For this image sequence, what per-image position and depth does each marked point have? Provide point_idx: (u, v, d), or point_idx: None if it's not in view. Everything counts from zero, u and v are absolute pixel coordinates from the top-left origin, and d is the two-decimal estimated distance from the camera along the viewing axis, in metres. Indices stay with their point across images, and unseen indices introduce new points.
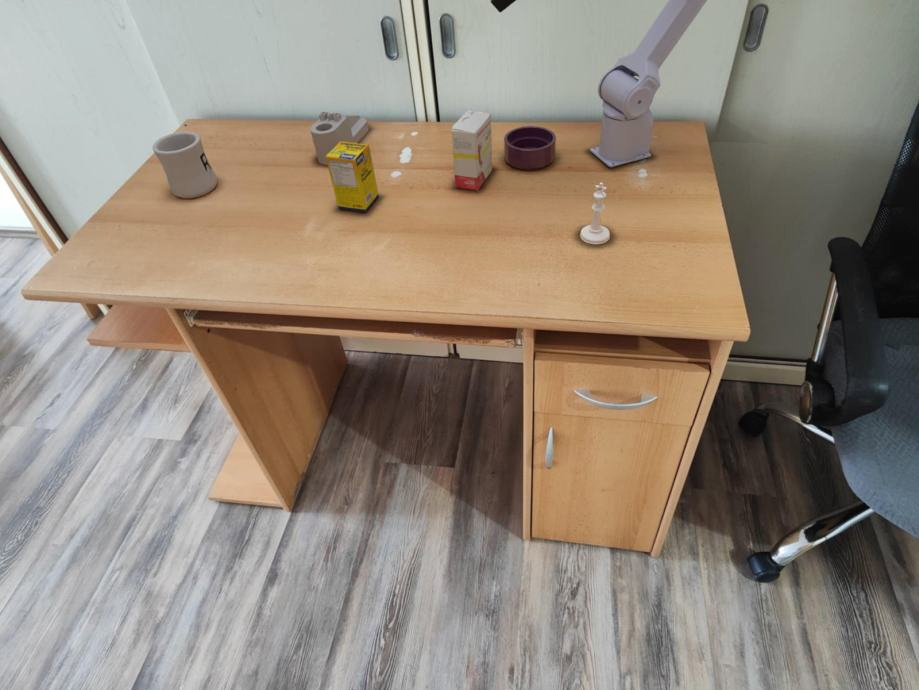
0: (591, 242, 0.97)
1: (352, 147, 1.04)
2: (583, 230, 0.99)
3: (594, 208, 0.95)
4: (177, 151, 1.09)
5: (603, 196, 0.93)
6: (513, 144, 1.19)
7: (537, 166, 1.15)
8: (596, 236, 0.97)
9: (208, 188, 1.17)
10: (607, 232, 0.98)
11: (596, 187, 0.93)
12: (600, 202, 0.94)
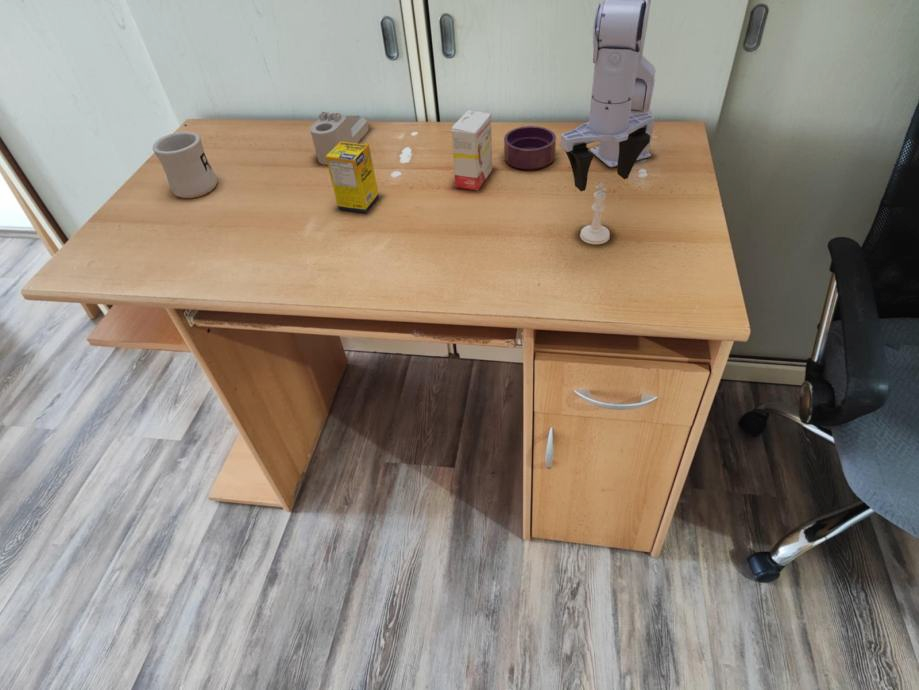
0: (591, 242, 0.97)
1: (352, 147, 1.04)
2: (583, 230, 0.99)
3: (594, 208, 0.95)
4: (177, 151, 1.09)
5: (603, 196, 0.93)
6: (513, 144, 1.19)
7: (537, 166, 1.15)
8: (596, 236, 0.97)
9: (208, 188, 1.17)
10: (607, 232, 0.98)
11: (596, 187, 0.93)
12: (600, 202, 0.94)
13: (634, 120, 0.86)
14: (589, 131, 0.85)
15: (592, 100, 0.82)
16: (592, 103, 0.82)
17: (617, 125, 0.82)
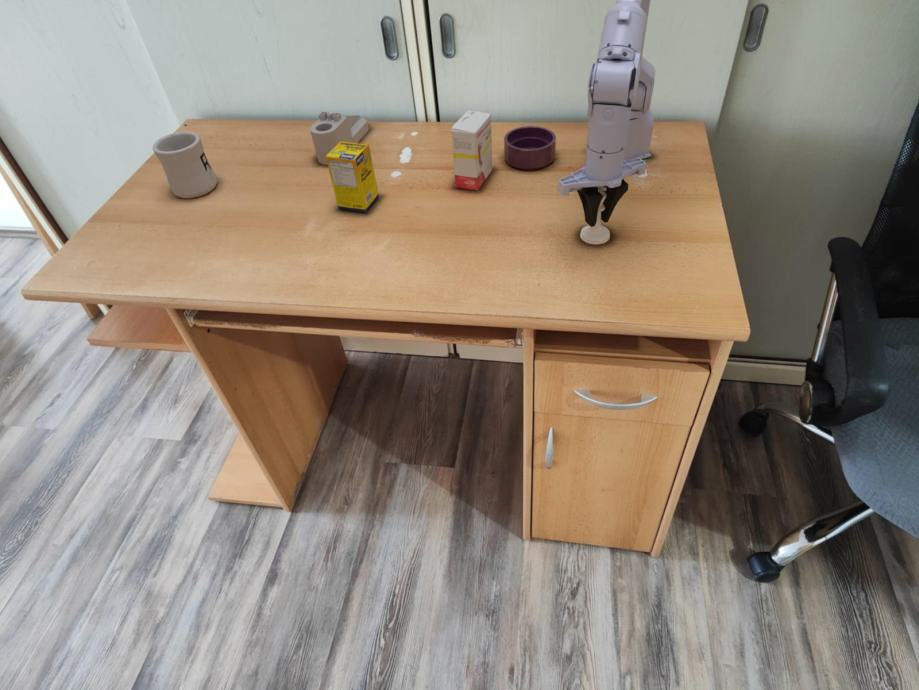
0: (591, 242, 0.97)
1: (352, 147, 1.04)
2: (583, 230, 0.99)
3: None
4: (177, 151, 1.09)
5: None
6: (513, 144, 1.19)
7: (537, 166, 1.15)
8: (596, 236, 0.97)
9: (208, 188, 1.17)
10: (607, 232, 0.98)
11: None
12: None
13: (627, 166, 0.91)
14: (584, 177, 0.90)
15: (587, 149, 0.87)
16: (587, 152, 0.87)
17: (611, 172, 0.88)
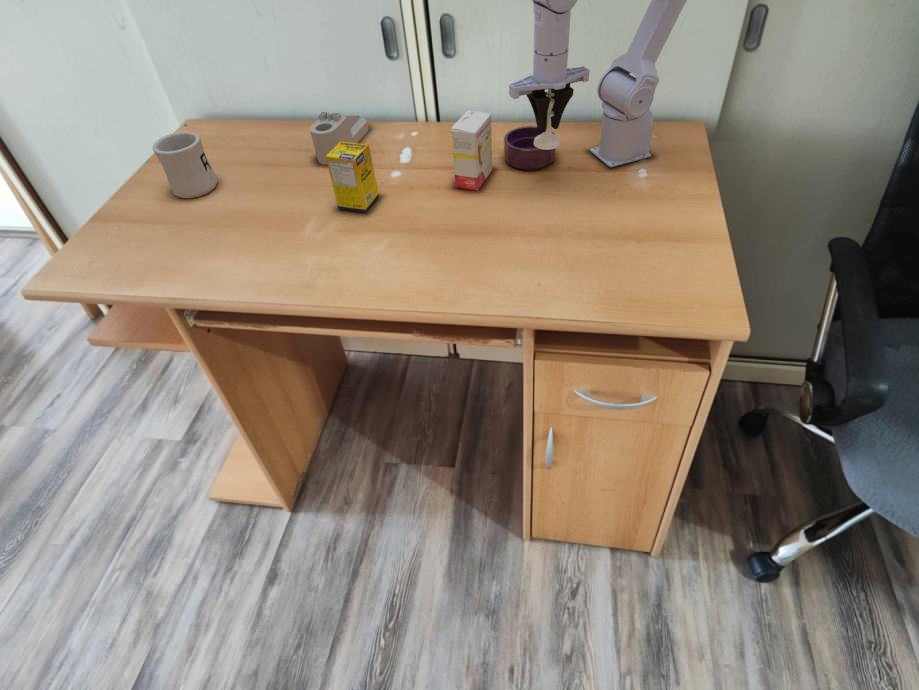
0: (543, 147, 1.07)
1: (352, 147, 1.04)
2: (536, 138, 1.08)
3: None
4: (177, 151, 1.09)
5: (552, 101, 1.02)
6: (513, 144, 1.19)
7: (537, 166, 1.15)
8: (547, 142, 1.07)
9: (208, 188, 1.17)
10: (558, 138, 1.08)
11: None
12: (549, 107, 1.03)
13: (572, 72, 1.01)
14: (533, 81, 0.99)
15: (534, 54, 0.97)
16: (534, 56, 0.97)
17: (555, 75, 0.97)
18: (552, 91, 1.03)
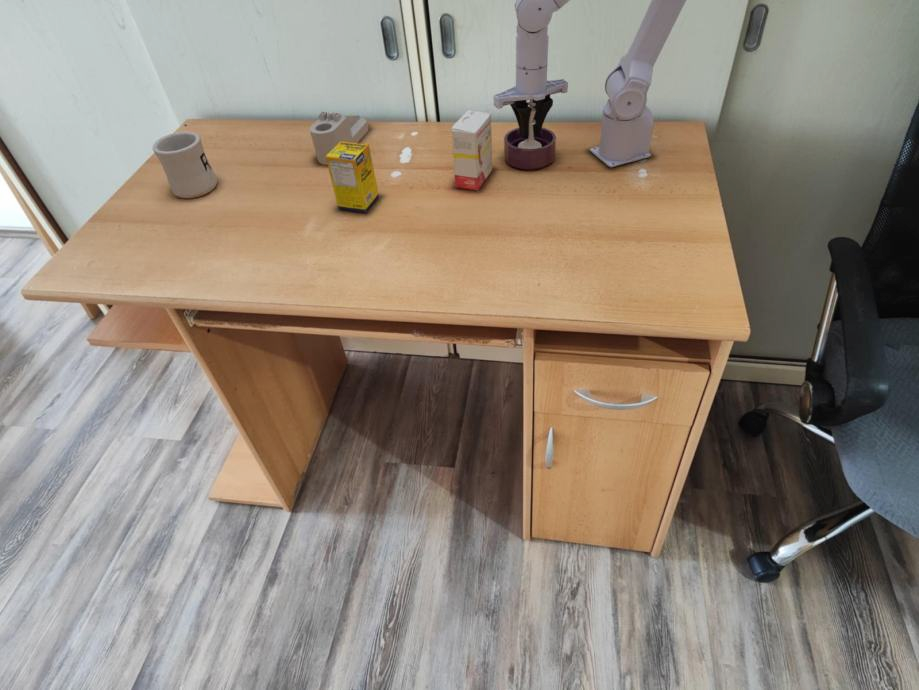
0: None
1: (352, 147, 1.04)
2: (520, 144, 1.17)
3: None
4: (177, 151, 1.09)
5: (533, 111, 1.11)
6: (513, 144, 1.19)
7: (537, 166, 1.15)
8: (530, 148, 1.16)
9: (208, 188, 1.17)
10: (540, 145, 1.16)
11: None
12: (531, 116, 1.12)
13: (552, 84, 1.10)
14: (515, 92, 1.08)
15: (516, 67, 1.06)
16: (516, 70, 1.06)
17: (536, 87, 1.06)
18: (534, 101, 1.12)
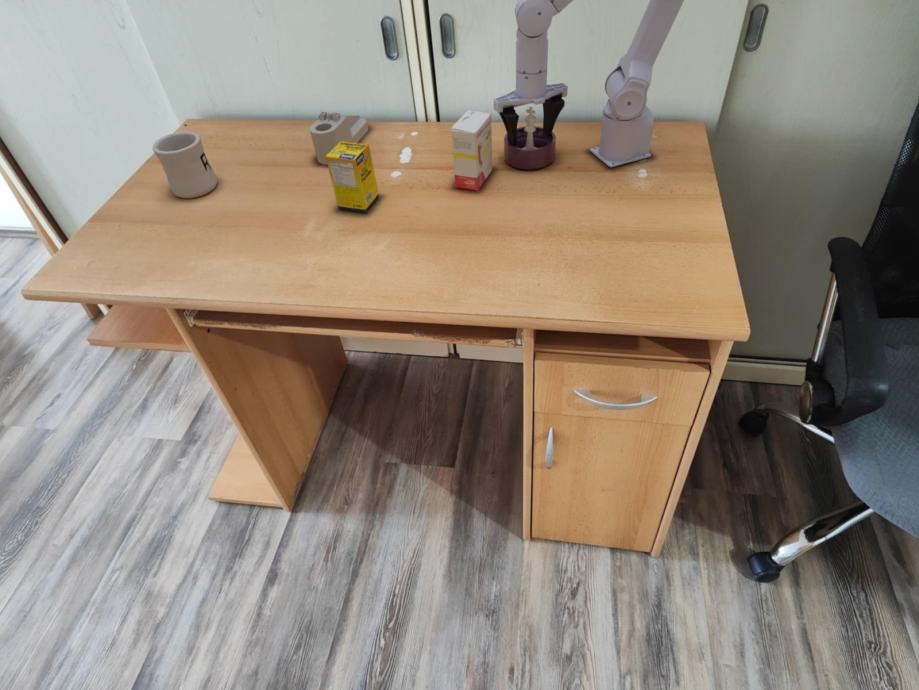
0: None
1: (352, 147, 1.04)
2: None
3: (526, 129, 1.14)
4: (177, 151, 1.09)
5: (533, 118, 1.12)
6: None
7: (537, 166, 1.15)
8: None
9: (208, 188, 1.17)
10: None
11: (527, 111, 1.12)
12: (531, 124, 1.13)
13: (552, 88, 1.10)
14: (515, 96, 1.09)
15: (516, 72, 1.06)
16: (516, 74, 1.06)
17: (535, 91, 1.06)
18: (545, 102, 1.13)
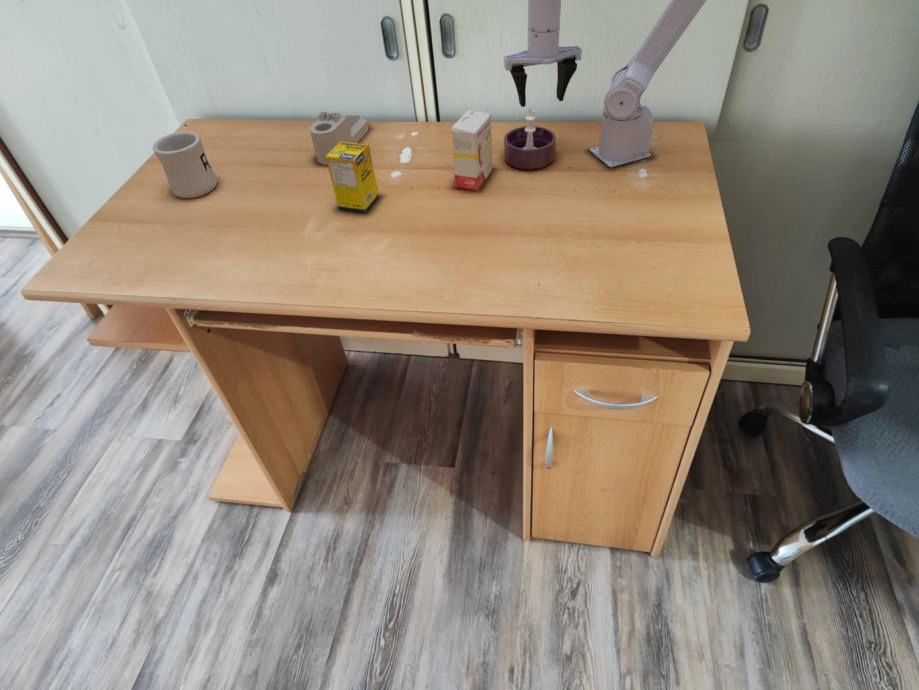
0: None
1: (352, 147, 1.04)
2: None
3: (526, 129, 1.14)
4: (177, 151, 1.09)
5: (533, 118, 1.12)
6: (513, 144, 1.19)
7: (537, 166, 1.15)
8: None
9: (208, 188, 1.17)
10: None
11: (527, 111, 1.12)
12: (531, 124, 1.13)
13: (565, 50, 1.09)
14: (526, 55, 1.08)
15: (528, 30, 1.06)
16: (528, 32, 1.06)
17: (545, 51, 1.06)
18: (559, 65, 1.12)
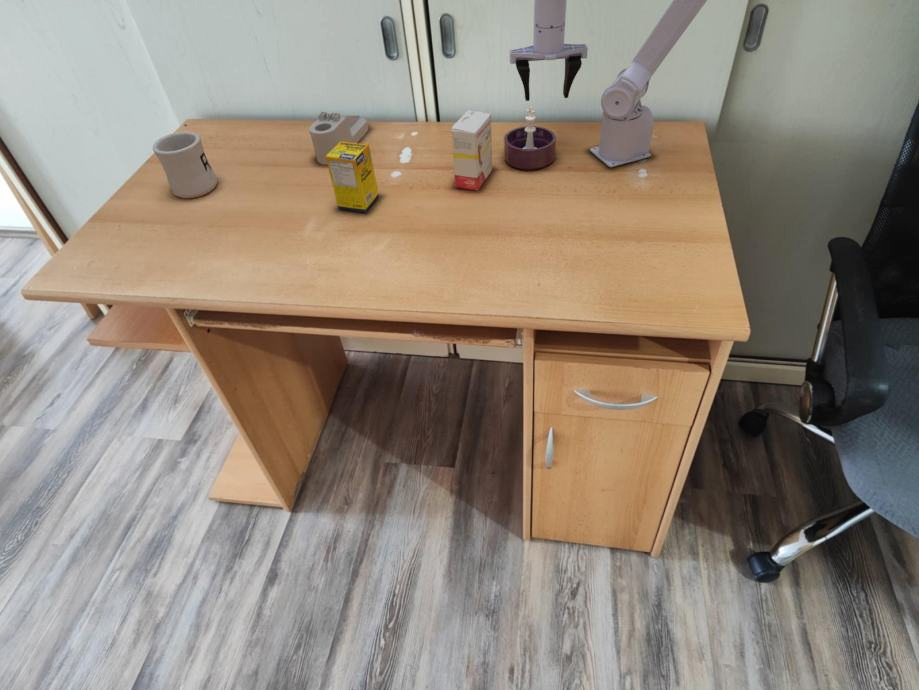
0: None
1: (352, 147, 1.04)
2: None
3: (526, 129, 1.14)
4: (177, 151, 1.09)
5: (533, 118, 1.12)
6: (513, 144, 1.19)
7: (537, 166, 1.15)
8: None
9: (208, 188, 1.17)
10: None
11: (527, 111, 1.12)
12: (531, 124, 1.13)
13: (571, 48, 1.10)
14: (531, 50, 1.10)
15: None
16: None
17: (548, 47, 1.07)
18: (566, 62, 1.13)
